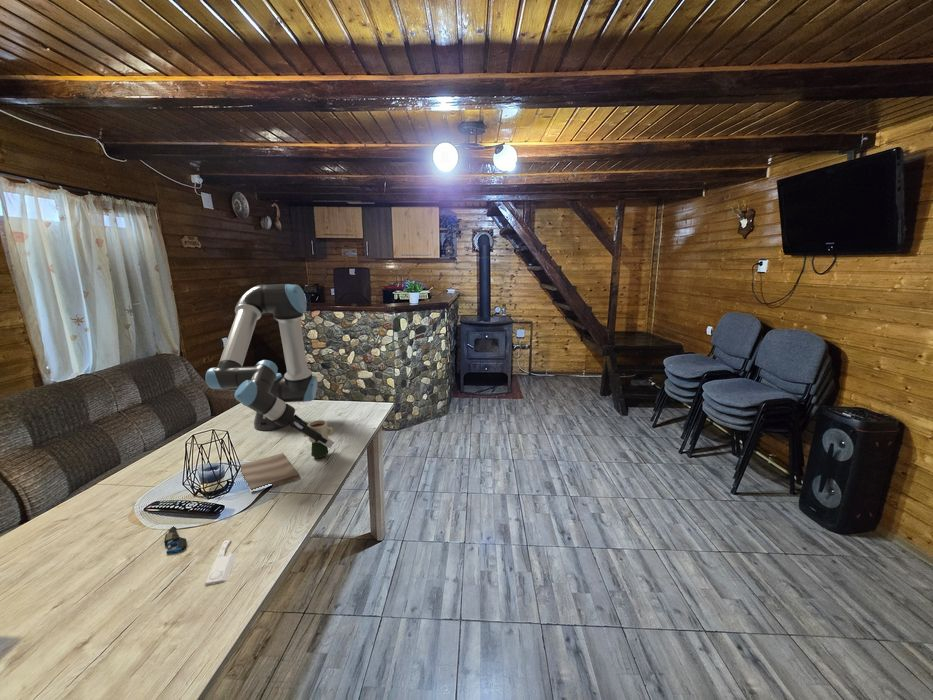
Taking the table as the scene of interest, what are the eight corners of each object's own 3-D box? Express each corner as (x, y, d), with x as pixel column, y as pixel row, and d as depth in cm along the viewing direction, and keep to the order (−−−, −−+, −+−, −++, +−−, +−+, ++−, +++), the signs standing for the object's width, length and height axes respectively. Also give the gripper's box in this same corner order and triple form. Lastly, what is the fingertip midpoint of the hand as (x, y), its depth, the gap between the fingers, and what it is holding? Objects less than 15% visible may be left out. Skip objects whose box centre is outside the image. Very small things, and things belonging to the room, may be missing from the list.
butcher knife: (245, 540, 107) (244, 536, 107) (229, 582, 93) (229, 578, 93) (223, 543, 106) (223, 539, 105) (204, 586, 91) (204, 582, 91)
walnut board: (239, 468, 144) (238, 465, 143) (283, 456, 153) (283, 452, 152) (251, 493, 128) (250, 488, 128) (299, 477, 137) (299, 473, 137)
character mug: (336, 450, 157) (334, 419, 154) (333, 458, 150) (330, 426, 147) (307, 451, 155) (304, 420, 152) (302, 460, 148) (299, 428, 146)
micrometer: (184, 545, 102) (160, 552, 100) (185, 552, 103) (161, 559, 100) (188, 519, 112) (167, 525, 110) (189, 525, 113) (168, 531, 110)
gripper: (264, 412, 147) (313, 441, 160) (279, 429, 132) (331, 459, 145) (278, 395, 149) (325, 425, 162) (294, 411, 134) (344, 442, 147)
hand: (328, 441), depth 154 cm, fingers closed on character mug, 7 cm apart
